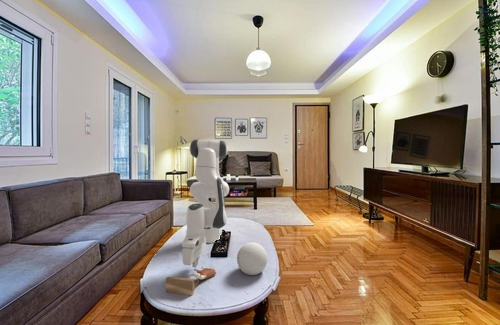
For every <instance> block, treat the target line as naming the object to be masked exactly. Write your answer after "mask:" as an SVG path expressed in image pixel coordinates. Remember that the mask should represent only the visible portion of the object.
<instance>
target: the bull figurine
mask: <svg viewBox="0 0 500 325" xmlns="http://www.w3.org/2000/svg"><path fill="white" fill-rule="evenodd" d="M216 274H217V272H216V270H215V268H211V267H205V266H201V270H200V269H197V268H194V270H193V272H192V273H191V275H190V276H191V277H195V280H196V282H197V280H198V279H199V281H203V280H207V279H209V278H212V277H214V276H215V275H216Z"/></svg>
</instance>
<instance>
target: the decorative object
mask: <svg viewBox="0 0 500 325" xmlns="http://www.w3.org/2000/svg"><path fill="white" fill-rule="evenodd" d="M236 261H237V262H236V263H237V265H238V268H239V270H241V271H242V272H243V274H245V275H249V276H256V275H259V274H260V273H262V272H263V270H265V268H266V266H267V263H268V254H267V251H266V249H265V248H264V247H263V246H262V245H261V244H260V243H258V242H254V241H253V242H252V241H251V242H247V243H245V244H243V245H242V246H241V247H240V249H239V250H238V251H237V256H236Z"/></svg>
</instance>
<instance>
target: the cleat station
mask: <svg viewBox="0 0 500 325" xmlns="http://www.w3.org/2000/svg"><path fill="white" fill-rule="evenodd" d="M199 284H200V280H199V279H198V280H197V282H196V279H194V278H189V277H188V278H186V277H180V276H179V277H176V276H167V277H166V278H165V293H169V294H177V295H185V296H193V295H194V294H195V289H196V288H197V287H198V286H199Z"/></svg>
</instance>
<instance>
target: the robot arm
mask: <svg viewBox="0 0 500 325" xmlns="http://www.w3.org/2000/svg"><path fill="white" fill-rule="evenodd" d="M189 152H190V155H191V156H192V157H193V158H195V159H196V163H195V175H194V176H195V178H196V180H197V181H196V182H192V184H191V185H190V187H189V193H190V195H191V196H192V197H193V198H194V199H195V200H196V201H197V203H193V204H190V205H188V206H187V210H186V218H185V219H186V220H185V221H186V222H185V223H186V224H185V225H186V231H185V232H186V233H185V237H184V238H183V240H182V242H181V247H182V250H181V251H182V252H181V253H182V254H181V256H182V263H183V265H184V266H191V265H192V268H196V267H197V266H198V265H199V260H200V256H201V255H202V254H203V253H204V252H205V251H206V248H207V244H208V243H209V244H213V243H216V242H215V241H216V240H219V239H220V235H221V234H222V232H223V229H222V228H223V227H224V226H226V225H227V222H228V216H227V211H226V205H225V204H226V203H225V197H227V196H228V195H229V193H230V187H229V184H228V183H227V182H226V181H224V180H223V178H222V177H221V176H220V163H219V162H220V159H224V158H226V157H227V155H228V152H229V146H228V144H227V142H226V141H224V140H216V139H193V140H192V141H191V142H190V145H189ZM212 198H213V199H215V201H214V202H215V203H214V202H211V201H210V200H209V199H212Z"/></svg>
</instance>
